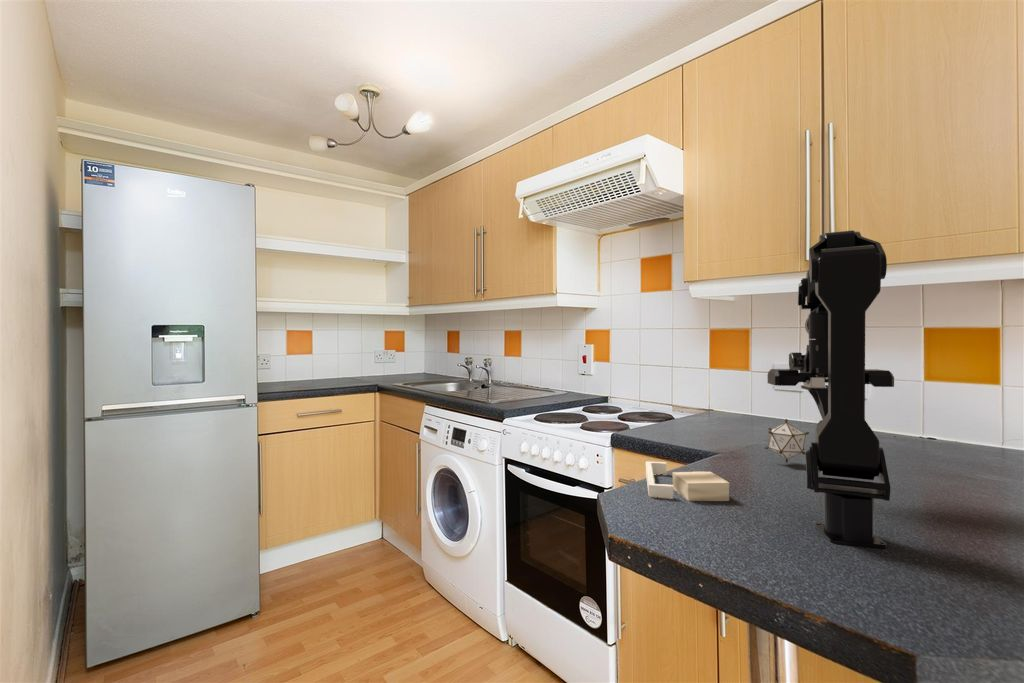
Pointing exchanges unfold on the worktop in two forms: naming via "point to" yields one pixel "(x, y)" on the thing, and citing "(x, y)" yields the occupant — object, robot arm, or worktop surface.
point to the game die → (786, 440)
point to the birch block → (701, 486)
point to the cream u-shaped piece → (653, 488)
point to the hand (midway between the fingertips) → (827, 425)
